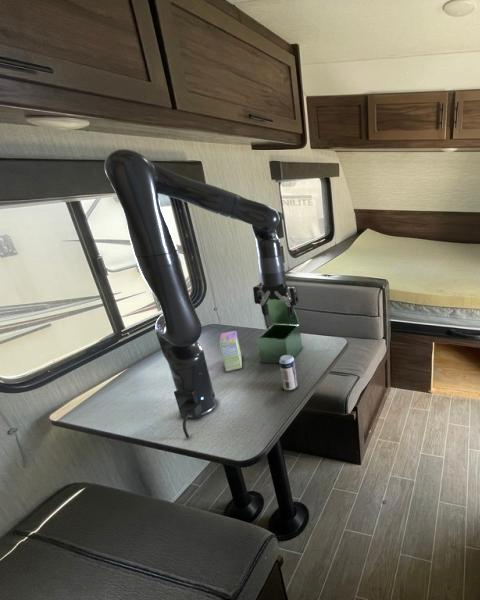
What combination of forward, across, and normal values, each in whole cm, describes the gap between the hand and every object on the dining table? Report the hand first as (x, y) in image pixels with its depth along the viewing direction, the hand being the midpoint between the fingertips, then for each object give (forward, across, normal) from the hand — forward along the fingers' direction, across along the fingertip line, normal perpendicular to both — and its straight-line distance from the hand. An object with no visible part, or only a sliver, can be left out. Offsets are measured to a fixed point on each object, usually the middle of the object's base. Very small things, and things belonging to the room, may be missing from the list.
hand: (278, 315), depth 109 cm
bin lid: (+8, -10, +20) cm, 24 cm away
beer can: (+26, +3, -4) cm, 26 cm away
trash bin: (+26, -10, +17) cm, 32 cm away
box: (+26, -26, +8) cm, 37 cm away
